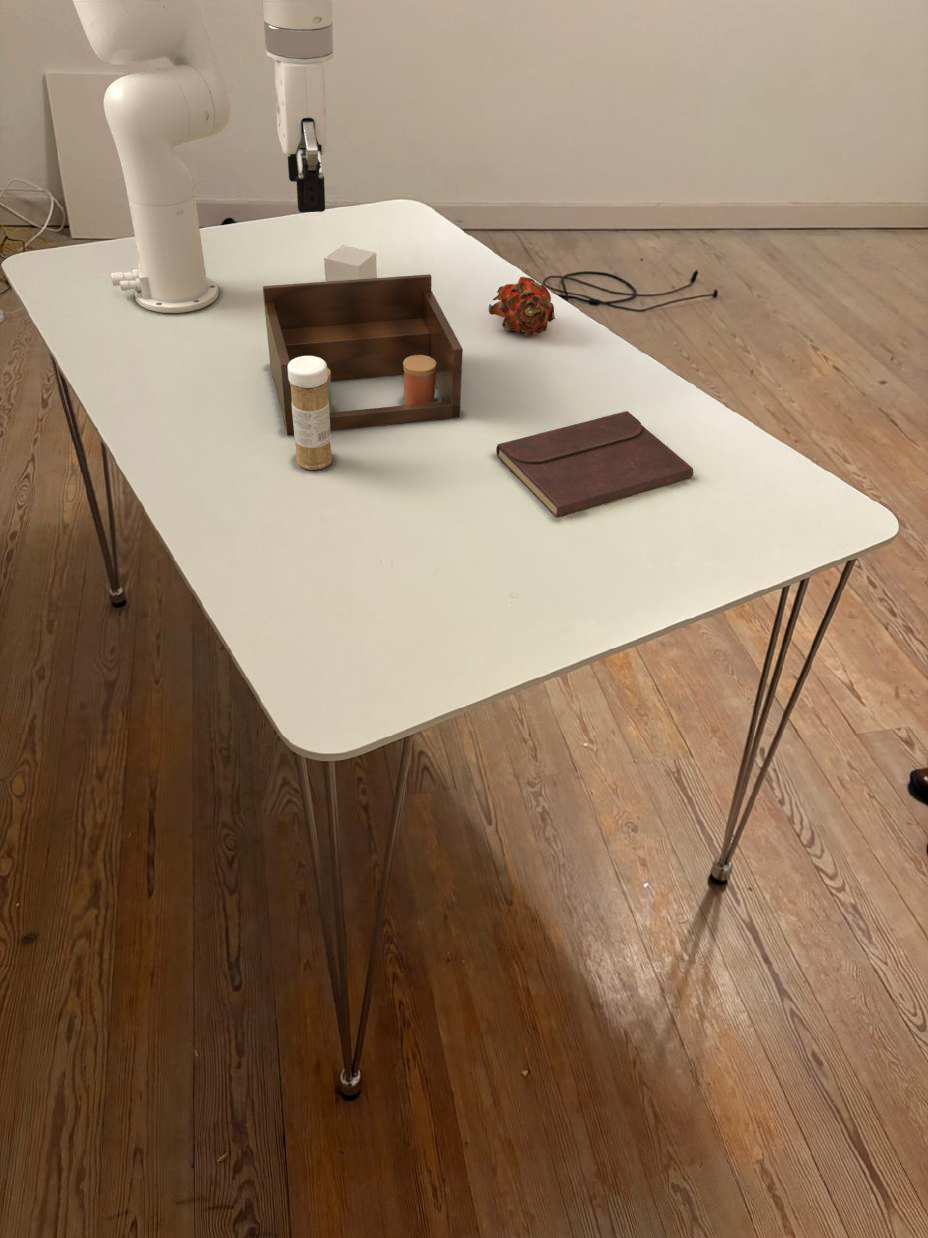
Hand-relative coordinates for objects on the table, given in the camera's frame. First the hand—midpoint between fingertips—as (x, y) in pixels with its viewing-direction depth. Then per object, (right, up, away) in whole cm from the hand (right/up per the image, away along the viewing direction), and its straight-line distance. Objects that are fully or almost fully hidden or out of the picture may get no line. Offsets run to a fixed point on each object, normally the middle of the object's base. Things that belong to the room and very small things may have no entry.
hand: (306, 195), depth 125 cm
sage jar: (0, -25, +10) cm, 27 cm away
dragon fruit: (+28, -8, +30) cm, 42 cm away
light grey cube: (+1, 0, +37) cm, 37 cm away
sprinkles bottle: (+1, -33, +1) cm, 33 cm away
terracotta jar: (+13, -23, +13) cm, 29 cm away
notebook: (+36, -33, +3) cm, 49 cm away
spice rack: (+5, -21, +14) cm, 26 cm away
